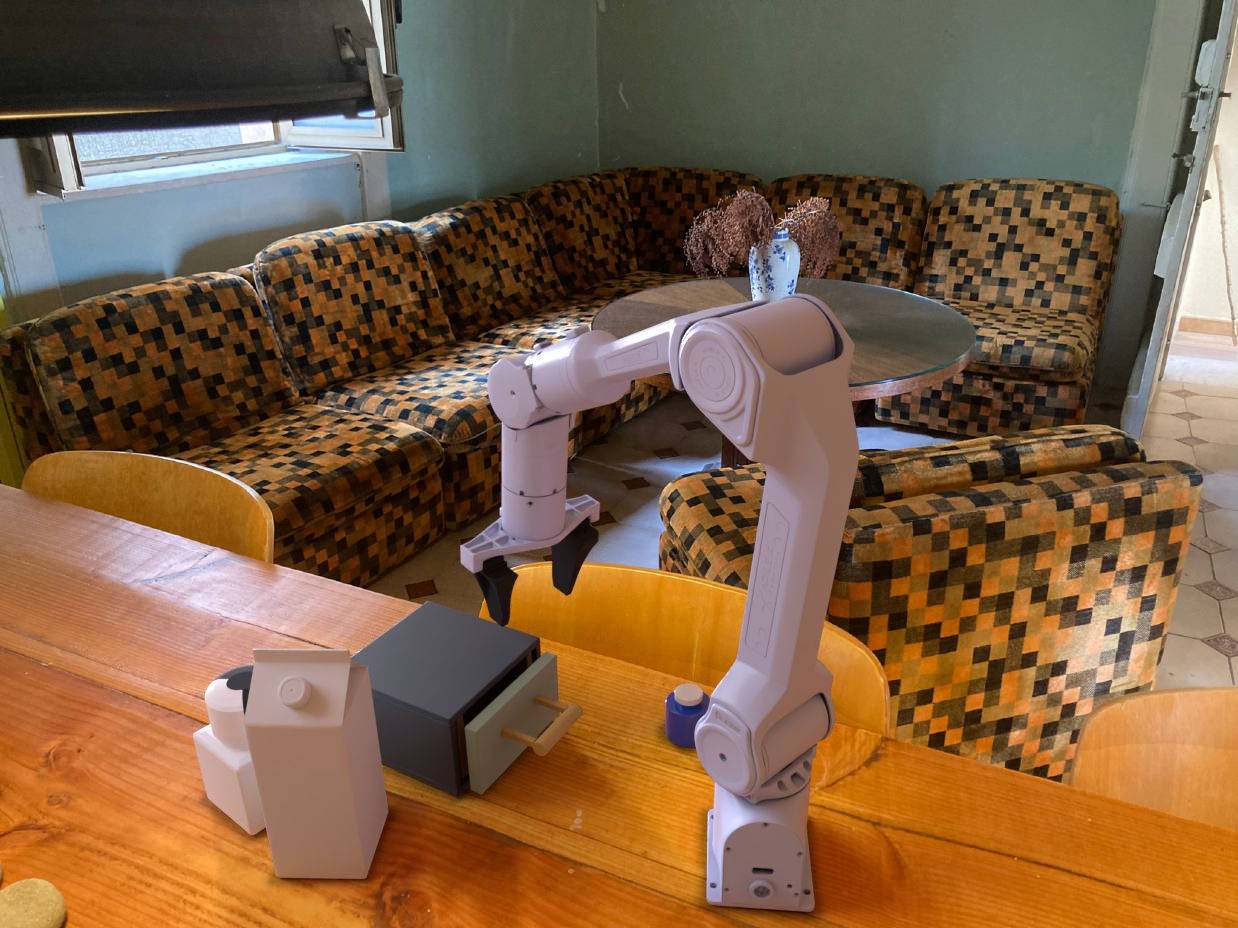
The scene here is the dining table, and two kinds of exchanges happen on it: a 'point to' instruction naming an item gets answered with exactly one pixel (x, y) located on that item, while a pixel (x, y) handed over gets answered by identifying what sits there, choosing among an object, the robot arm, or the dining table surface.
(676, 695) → the spice bottle
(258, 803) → the medicine bottle
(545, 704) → the drawer
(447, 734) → the cabinet
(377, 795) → the milk carton
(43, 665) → the dining table surface
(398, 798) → the dining table surface
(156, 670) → the dining table surface
